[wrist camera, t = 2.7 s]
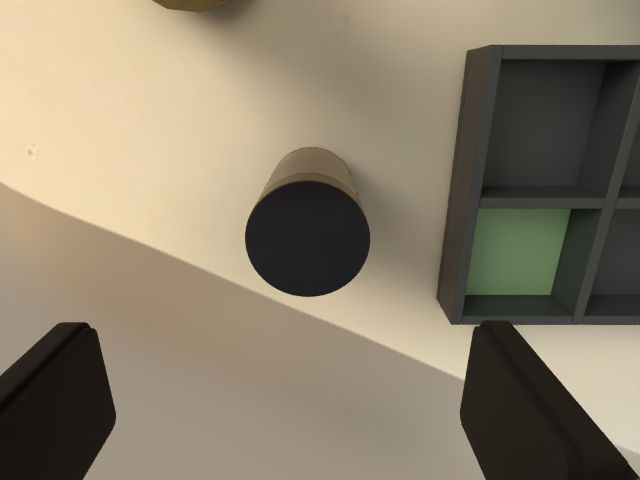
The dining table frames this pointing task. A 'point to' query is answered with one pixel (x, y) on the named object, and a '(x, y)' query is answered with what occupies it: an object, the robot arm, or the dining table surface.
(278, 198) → the thermos
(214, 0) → the squeeze bottle
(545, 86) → the tray
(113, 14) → the dining table surface
